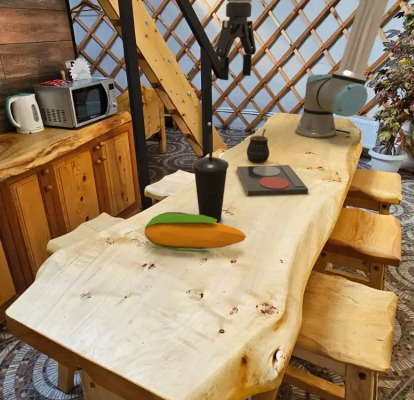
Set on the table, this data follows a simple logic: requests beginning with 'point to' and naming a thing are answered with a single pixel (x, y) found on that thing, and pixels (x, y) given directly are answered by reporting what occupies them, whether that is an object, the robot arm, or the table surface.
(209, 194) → the drinking cup
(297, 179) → the hob
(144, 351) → the table surface
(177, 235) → the corn
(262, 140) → the mate gourd
